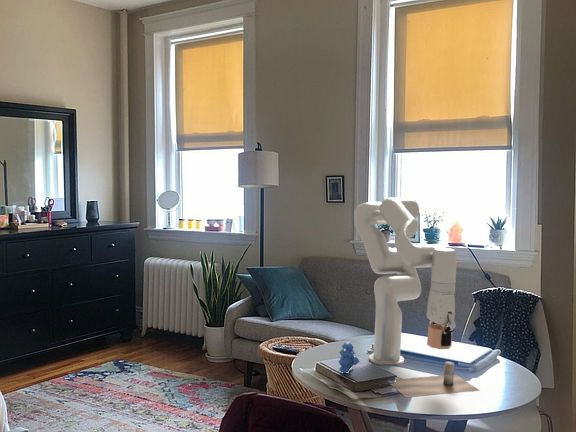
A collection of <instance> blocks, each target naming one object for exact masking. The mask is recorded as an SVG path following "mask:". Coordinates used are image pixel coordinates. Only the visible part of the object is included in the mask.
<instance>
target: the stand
mask: <svg viewBox="0 0 576 432" xmlns="http://www.w3.org/2000/svg"><path fill="white" fill-rule="evenodd" d="M443 371H444V372H443V374H442V375H441V374H440V375H433V376H420V377H418V376H417V377H410V378H409V377H408V378H407V377H406V378H398V379H396V378H395V379H396V382H395V383H394V384H389V385H390V386H391V387H393V388H394V389H395V390H397V392H399V393H400V394H401V395H403V396H404V398H415V397H416V398H417V397H426V396H436V395H445V394H456V393H458V394H459V393H467V392H474V391H475V392H478V391H480V389H479V388H477V387H476V386H474V385H473V384H471V383H469V382H468V381H466V380H465V379H464V378H461V377H460V376H459V375H457V374H454V373H455V363H454V362H453V361H444V370H443Z"/></svg>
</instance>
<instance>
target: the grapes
mask: <svg viewBox="0 0 576 432" xmlns="http://www.w3.org/2000/svg"><path fill="white" fill-rule="evenodd" d="M341 348H342V349H341V350H340V351H339V353H338V354H340V356H341V357H340V358H339V360H338V364H339V365H340V367H339V368H338V369H339V371H341V372H343V373H346V372H348V371H349V369H350V368H351V367H352V368H353V366H356V365H358V364H359V363H360V360H359V358H358V356H356V355H355V354H356V352H355V351H354V346H353V344H352V342H344V343H343V344H342V346H341ZM341 372H340V373H341Z"/></svg>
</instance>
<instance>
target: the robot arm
mask: <svg viewBox="0 0 576 432" xmlns="http://www.w3.org/2000/svg"><path fill="white" fill-rule="evenodd" d="M419 215H420V207H419V203H418V202H417V201H416V200H415V199H414V198H411V197H388V198H385V199H384V200H382V201H367V202H363V203H360V204H359V205H357V206H356V208H355V210H354V214H353V218H354V219H353V220H354V221H353V222H354V226H355V230H356V232H357V233H358V236H359V237H360V239H361V241H362V243H363V246H364V249H365V252H366V256H367V259H368V261H369V264H370V267H371V270H372V271H373V273H375V274H378V275H382V276H380V277H377V279H376V280H375V281H374V284H373V293H374V299H375V318H374V319H375V321H374V322H375V324H374V343H373V345H372V348H373V352H372V353H371V354H369V356H368V358H369V361H370V362H371V363H373V364H375V365H379V366H393V365H402V364H404V363H405V358H404V356H402V355H401V346H402V345H401V344H402V343H401V342H402V326H403V325H402V324H403V323H402V322H403V313H402V309H401V308H400V306H399V303H398V302H402V301H405V302H406V301H413V300H416V299H418V298H419V297H420V296H421V293H422V283H421V280H420V277H419V275H418V271H417V269H421V268H422V269H423V268H431V273H430V275H431V276H430V289H429V293H428V298H427V304H426V318H427V319H428V321H429V322H428V326H429V325H431V324H438V325H442V330H443V333H442V334H441V346H451V335H452V336H453V332H454V330H455V329H456V327H457V324H456V322H455V318H456V317H455V314H456V299H455V293H456V280H457V279H456V277H457V266H458V265H457V261H458V253H457V250H456V249H453V248H449V247H445V246H443V245H440V244H437V243H431V244H430V243H429V244H428V243H427V244H425V243H423V244H422V243H421V244H413V242H412V241H411V240H410V239H411V238H412V237H414V236H415V235H416V233H417V232H418V230H419V222H418V220H417V218H418V216H419ZM376 225H388V226H389V227H390V229H391V230H392V231H393V232H394V234H395V238H394V247H393V248H392V247H391V246H389V243H388V241H387V238H386V236H385V234H384V233H383V232H382V231H381V230H380V229H379V228H378V227H377V226H376ZM445 326H448V327H447V329H446V328H445ZM451 347H452V346H451Z"/></svg>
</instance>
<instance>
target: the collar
mask: <svg viewBox="0 0 576 432" xmlns="http://www.w3.org/2000/svg"><path fill="white" fill-rule="evenodd" d="M447 327H448V326H445V328H446V329H447ZM442 333H443V330H442V325H438V324H431V325H429V324H428V326H427V341H426V345H427V346H428V347H430V348H433V349H437V350H450V349H451V347H452V343H453V342H452V341H453V334H452V335H451V346H441V334H442Z"/></svg>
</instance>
